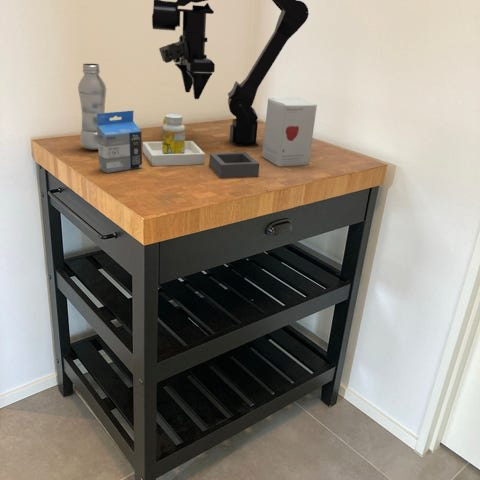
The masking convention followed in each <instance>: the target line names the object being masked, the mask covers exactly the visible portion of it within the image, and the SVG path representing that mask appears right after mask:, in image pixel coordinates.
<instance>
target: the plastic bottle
mask: <svg viewBox="0 0 480 480" xmlns="http://www.w3.org/2000/svg"><path fill="white" fill-rule="evenodd" d="M82 73H83V75H82V78H80V81H79V82H78V87H77V89H78V95H79V100H80V108H81V131H80V143H81V145H82V147H83V148H84V149H85V150H86V149H87V150H92V151H96V150H98V135H97V114H98V113H106V112H105V111H106V110H105V108H106V105H105V104H106V98H107V97H106V96H107V87H106V83H105V82H104V80H103V79H102V77H101V76H100V75H99V74H101V71H100V64H99V63H91V62H90V63H88V62H87V63H82Z"/></svg>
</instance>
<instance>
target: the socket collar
mask: <svg viewBox="0 0 480 480" xmlns="http://www.w3.org/2000/svg"><path fill="white" fill-rule="evenodd" d="M208 160H209V161H208V162H209V163H208V166H209V167H210V168H211V169H212V170H213V172H214V173H216V175H217V176H218V177H219V178H220V179H228V178H247V177H249V178H252V177H259V172H260V163H259V162H258V160H256V159H255V158H254V157H252V156H251V155H250V154H249V153H247V152H246V151H245V152H243V151H239V152H211V153H210V152H209V159H208Z"/></svg>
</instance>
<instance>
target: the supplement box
mask: <svg viewBox="0 0 480 480" xmlns="http://www.w3.org/2000/svg"><path fill="white" fill-rule="evenodd" d="M317 107H318V105H317V104H316V103H314V102H311V101H308V100H305V99H303V98H301V97H268V98H267V106H266V116H265V123H264V124H265V126H264V133H263V134H264V135H263V141H262V142H263V143H262V152H261V157H262V158H264V159H265V160H267V161H269V162H271V163H272V164H273V165H275V166H277V167H278V168H279V167H291V166H293V167H294V166H295V167H296V166H305V165H308V166H309V165H310V157H311V151H312V150H311V149H312V144H313V137H314V128H315V123H316V122H315V121H316V114H317Z"/></svg>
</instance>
